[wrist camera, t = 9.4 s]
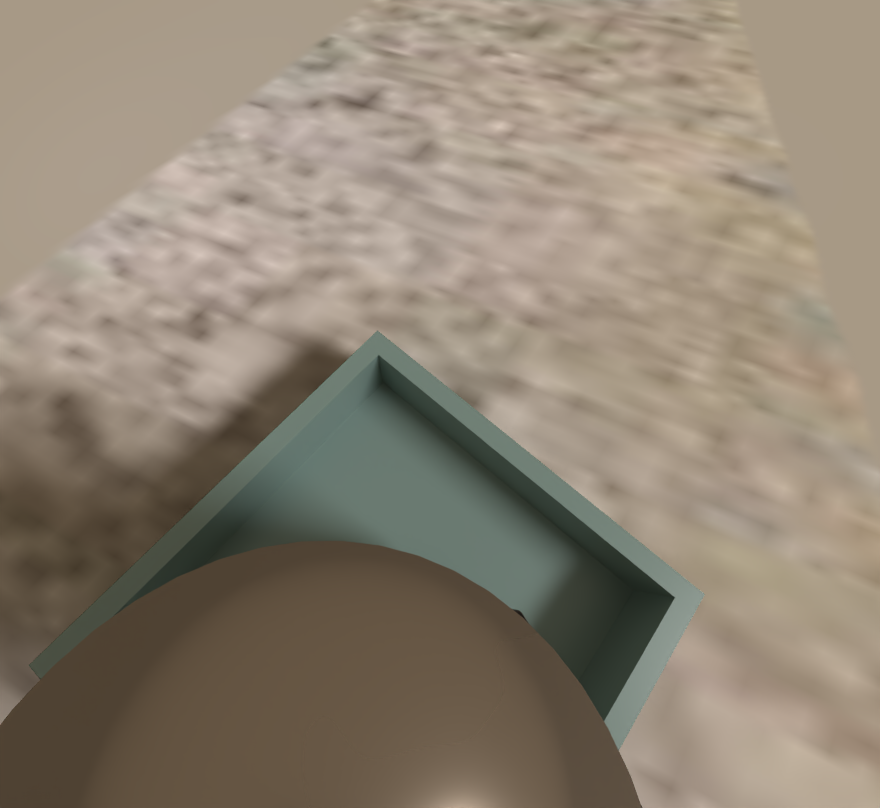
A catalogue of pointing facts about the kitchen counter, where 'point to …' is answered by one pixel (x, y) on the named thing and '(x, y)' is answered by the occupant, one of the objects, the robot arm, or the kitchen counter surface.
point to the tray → (434, 524)
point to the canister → (312, 697)
